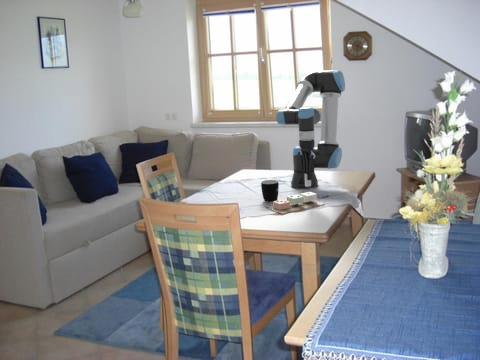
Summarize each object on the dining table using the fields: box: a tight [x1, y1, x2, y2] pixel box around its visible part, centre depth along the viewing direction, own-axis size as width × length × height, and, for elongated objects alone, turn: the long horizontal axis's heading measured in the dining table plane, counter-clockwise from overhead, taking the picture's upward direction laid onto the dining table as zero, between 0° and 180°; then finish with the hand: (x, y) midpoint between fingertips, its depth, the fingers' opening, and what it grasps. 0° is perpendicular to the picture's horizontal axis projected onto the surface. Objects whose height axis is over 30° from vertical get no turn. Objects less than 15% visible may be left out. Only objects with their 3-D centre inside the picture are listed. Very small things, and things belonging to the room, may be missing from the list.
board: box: [267, 200, 325, 215], centre depth 279 cm, size 25×14×1 cm, turn 118°
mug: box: [260, 179, 279, 203], centre depth 292 cm, size 12×9×10 cm
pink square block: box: [272, 198, 290, 210], centre depth 274 cm, size 6×6×3 cm
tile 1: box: [299, 191, 318, 202], centre depth 281 cm, size 6×6×3 cm
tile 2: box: [286, 194, 304, 205], centre depth 278 cm, size 6×6×3 cm
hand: (308, 186), depth 280 cm, fingers closed
